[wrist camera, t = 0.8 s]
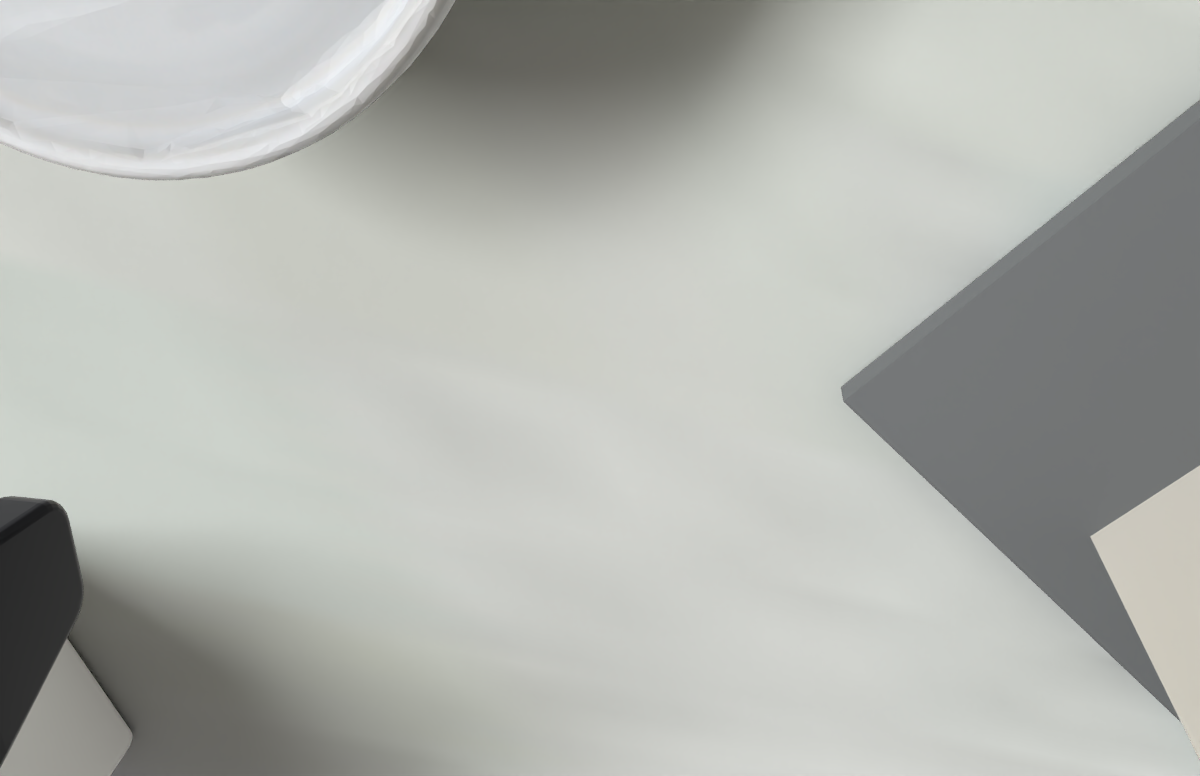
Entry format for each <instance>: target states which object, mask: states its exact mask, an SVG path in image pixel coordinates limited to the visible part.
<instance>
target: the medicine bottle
mask: <svg viewBox="0 0 1200 776" xmlns="http://www.w3.org/2000/svg"><path fill="white" fill-rule="evenodd" d="M132 738H133V735H132V732H131V731H130V729H129V727H128V726H127V724H126V723H125V722H124V720H123V719H122V717H121V716H120V714H119V713H118V711H117V710H116V708H115V707H114V706H113V704H112V703H111V701H110V700H109V698H108V697H107V695H106V694H105V693H104V691H103V690H102V688H101V687H100V685H99V684H98V682H97V681H96V679H95V678H94V677H93V675H92V674H91V672H90V671H89V669H88V668H87V666H86V665H85V663H84V662H83V661H82V659H81V658H80V656H79V655H78V653H77V652H76V650H75V649H74V647H73V646H72V645H71V643H70V642H69V640H68V639H66V641H65V643H64V645H63V647H62V649H61V651H60V653H59V655H58V657H57V659H56V661H55V663H54V665H53V667H52V669H51V670H50V672H49V674H48V676H47V678H46V680H45V682H44V684H43V686H42V688H41V690H40V692H39V694H38V696H37V698H36V700H35V702H34V704H33V706H32V708H31V710H30V712H29V714H28V716H27V718H26V720H25V722H24V723H23V725H22V727H21V729H20V731H19V733H18V735H17V737H16V739H15V741H14V743H13V745H12V747H11V749H10V751H9V753H8V755H7V757H6V758H5V760H4V762H3V764H2V766H1V768H0V776H111V774H112V773H113V771H114V770H115V768H116V767H117V765H118V764H119V762H120V761H121V759H122V758H123V756H124V755H125V753H126V751H127V750H128V748H129V747H130V744H131V741H132Z"/></svg>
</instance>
